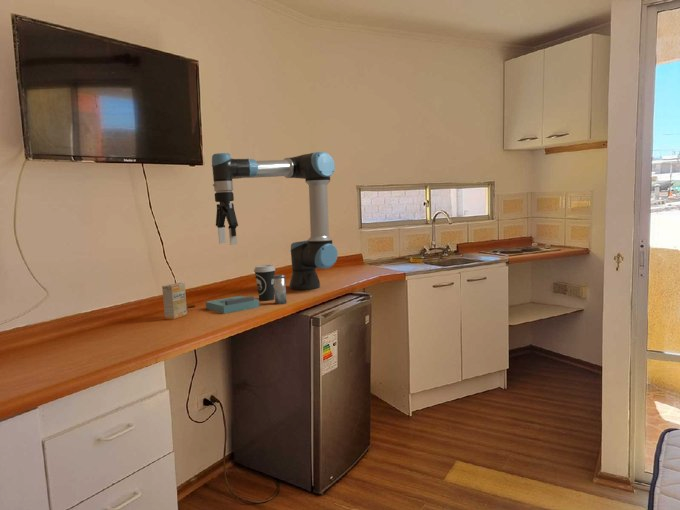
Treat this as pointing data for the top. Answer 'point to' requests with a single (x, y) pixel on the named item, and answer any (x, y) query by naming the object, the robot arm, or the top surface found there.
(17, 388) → the top surface
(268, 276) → the coffee cup
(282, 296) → the metal cylinder
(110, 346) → the top surface
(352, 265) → the top surface
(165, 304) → the supplement box
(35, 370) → the top surface
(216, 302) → the jig
